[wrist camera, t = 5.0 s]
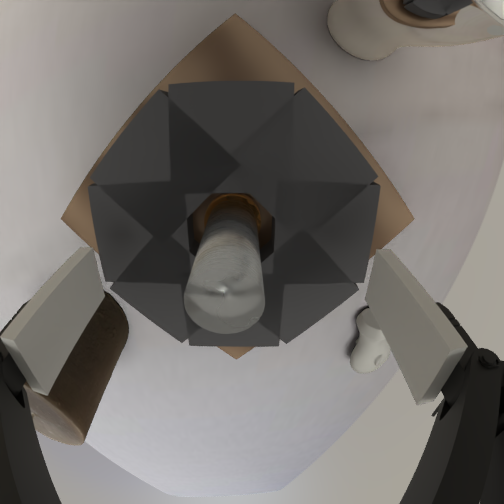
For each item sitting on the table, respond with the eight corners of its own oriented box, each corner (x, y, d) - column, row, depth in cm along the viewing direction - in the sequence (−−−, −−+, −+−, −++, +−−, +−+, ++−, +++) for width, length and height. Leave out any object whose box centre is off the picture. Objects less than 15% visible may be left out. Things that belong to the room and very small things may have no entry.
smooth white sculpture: (373, 347, 32) (338, 361, 31) (388, 294, 29) (350, 307, 27) (393, 369, 29) (359, 387, 27) (414, 316, 25) (377, 333, 24)
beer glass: (402, 72, 18) (548, 61, 5) (322, 59, 18) (437, -6, 5) (396, 2, 15) (515, -52, 2) (318, -14, 15) (396, -120, 2)
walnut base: (236, 21, 17) (235, 13, 15) (403, 211, 24) (414, 219, 22) (71, 211, 23) (60, 218, 21) (236, 345, 30) (236, 359, 28)
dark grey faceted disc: (233, 30, 14) (231, 20, 12) (405, 227, 20) (418, 238, 18) (67, 227, 19) (53, 237, 17) (235, 360, 25) (235, 377, 23)
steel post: (233, 177, 20) (221, 240, 10) (270, 213, 21) (292, 303, 12) (196, 213, 21) (157, 302, 11) (233, 247, 23) (226, 351, 13)
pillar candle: (122, 285, 26) (51, 410, 13) (134, 356, 30) (95, 469, 17) (46, 273, 26) (-36, 367, 12) (65, 341, 30) (13, 434, 16)
